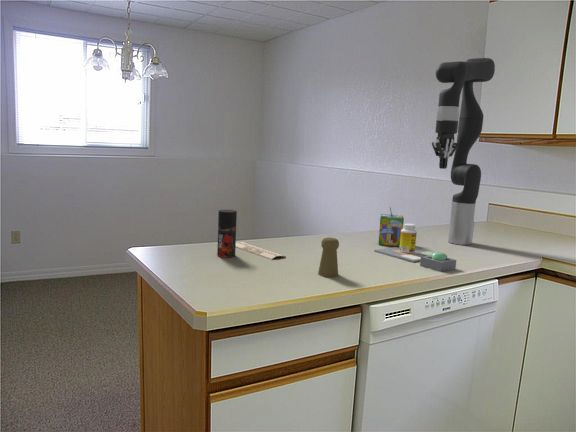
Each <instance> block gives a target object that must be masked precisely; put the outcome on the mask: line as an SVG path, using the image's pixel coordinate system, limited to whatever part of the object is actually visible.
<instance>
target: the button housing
mask: <svg viewBox="0 0 576 432" xmlns="http://www.w3.org/2000/svg"><path fill="white" fill-rule="evenodd" d="M431 258H432V255H430V256H424V257H421V261H420V262H419V266H420V267H423V268H426V269H430V270H433V271H437V272H440V273H441V272H446V271H451V270H455V269H456V268H457V259H456V258H455V259H454V258H452V257H448V256H447V257H446V260H445V261H438V260H434V259H431Z"/></svg>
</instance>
